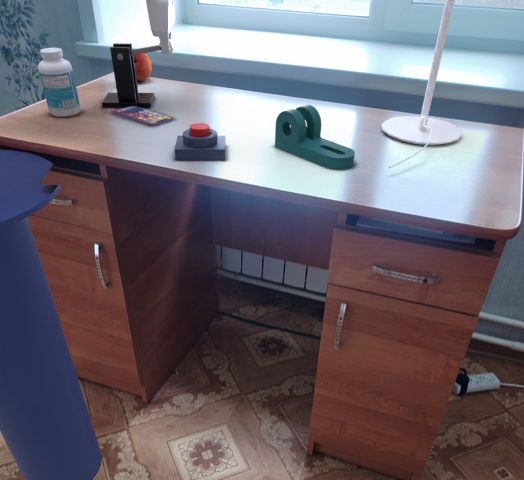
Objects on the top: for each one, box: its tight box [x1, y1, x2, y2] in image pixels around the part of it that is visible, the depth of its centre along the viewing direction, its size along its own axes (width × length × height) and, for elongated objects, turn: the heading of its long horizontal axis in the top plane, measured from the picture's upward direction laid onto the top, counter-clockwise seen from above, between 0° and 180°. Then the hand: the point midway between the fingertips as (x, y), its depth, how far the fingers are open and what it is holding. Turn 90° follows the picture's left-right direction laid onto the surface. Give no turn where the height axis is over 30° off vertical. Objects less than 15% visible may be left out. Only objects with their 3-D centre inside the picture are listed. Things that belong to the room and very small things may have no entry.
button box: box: [174, 128, 226, 161], centre depth 103 cm, size 10×8×4 cm
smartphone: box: [112, 106, 174, 127], centre depth 122 cm, size 1×7×15 cm
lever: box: [130, 39, 174, 56], centre depth 122 cm, size 14×3×3 cm, turn 93°
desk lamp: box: [381, 0, 463, 169], centre depth 95 cm, size 37×18×45 cm, turn 169°
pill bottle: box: [37, 47, 82, 118], centre depth 118 cm, size 8×7×14 cm
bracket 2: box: [274, 104, 356, 171], centre depth 103 cm, size 18×7×8 cm, turn 43°
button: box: [189, 122, 211, 137], centre depth 102 cm, size 4×4×2 cm
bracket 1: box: [101, 42, 155, 109], centre depth 126 cm, size 12×9×13 cm
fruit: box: [133, 53, 153, 82], centre depth 143 cm, size 8×8×8 cm
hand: (166, 51), depth 123 cm, fingers closed on lever, 3 cm apart
